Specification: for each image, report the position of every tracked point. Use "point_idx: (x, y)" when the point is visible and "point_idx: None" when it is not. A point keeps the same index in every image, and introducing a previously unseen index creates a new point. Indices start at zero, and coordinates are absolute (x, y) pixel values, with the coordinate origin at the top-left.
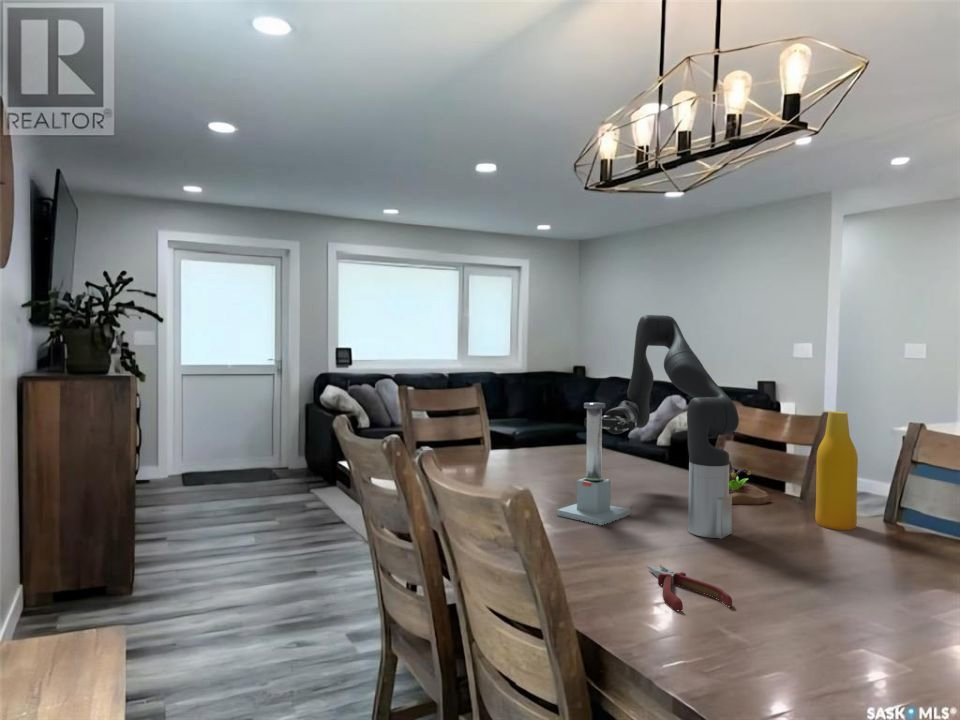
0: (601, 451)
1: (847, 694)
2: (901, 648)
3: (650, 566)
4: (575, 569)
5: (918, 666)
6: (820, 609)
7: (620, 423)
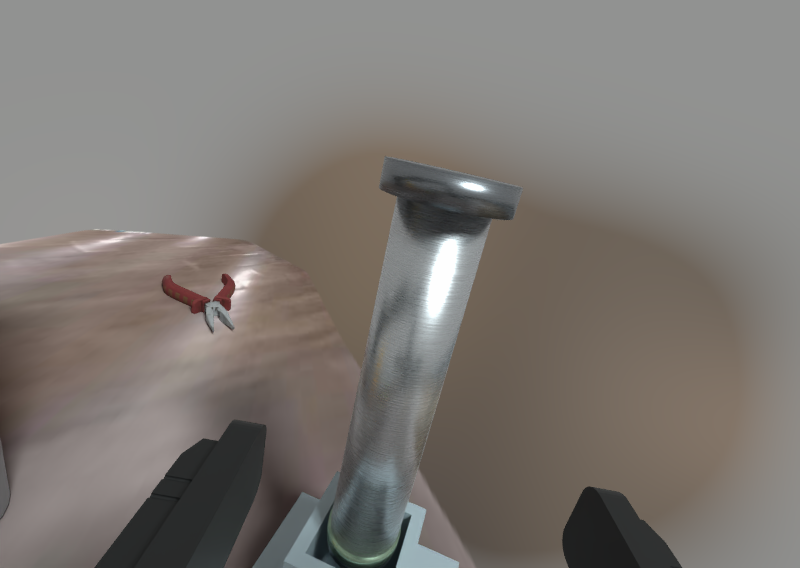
0: (351, 419)
1: (151, 237)
2: (42, 250)
3: (231, 322)
4: (327, 329)
5: (59, 241)
6: (52, 279)
7: (219, 445)
